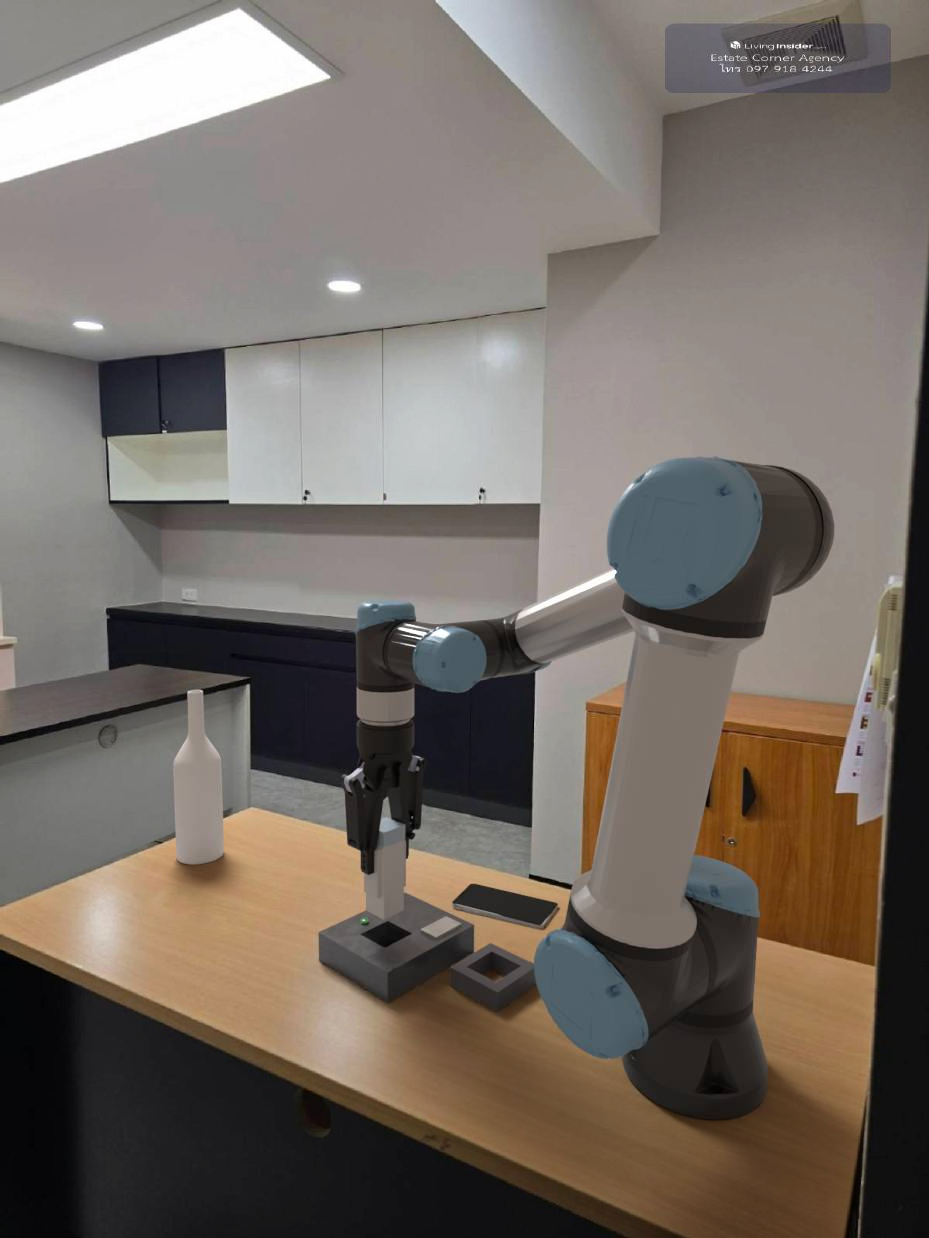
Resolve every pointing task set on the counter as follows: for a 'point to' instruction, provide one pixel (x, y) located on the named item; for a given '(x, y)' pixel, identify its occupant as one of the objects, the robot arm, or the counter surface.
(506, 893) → the smartphone
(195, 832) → the bottle
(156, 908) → the counter surface
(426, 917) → the panel
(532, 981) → the grey square ring
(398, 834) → the plug
